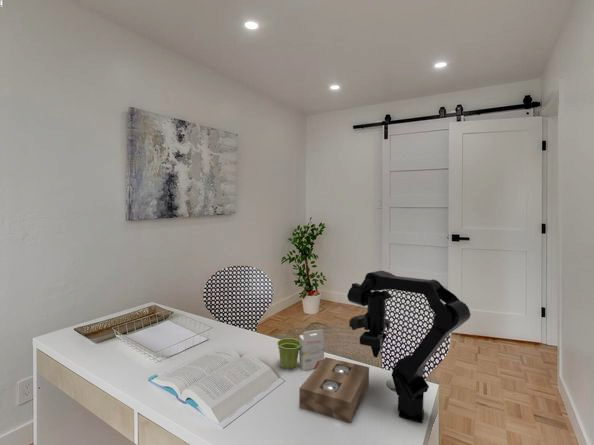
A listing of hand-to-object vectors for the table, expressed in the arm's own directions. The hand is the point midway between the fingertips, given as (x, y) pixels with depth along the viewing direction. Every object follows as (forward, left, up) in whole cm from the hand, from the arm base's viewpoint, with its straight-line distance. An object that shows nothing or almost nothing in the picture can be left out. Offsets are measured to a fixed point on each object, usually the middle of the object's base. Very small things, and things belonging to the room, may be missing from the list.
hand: (375, 356), depth 103 cm
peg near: (+11, +13, -12) cm, 20 cm away
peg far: (+11, +2, -12) cm, 16 cm away
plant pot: (+34, -3, -12) cm, 36 cm away
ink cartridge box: (+26, -7, -12) cm, 29 cm away
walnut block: (+11, +7, -12) cm, 18 cm away
